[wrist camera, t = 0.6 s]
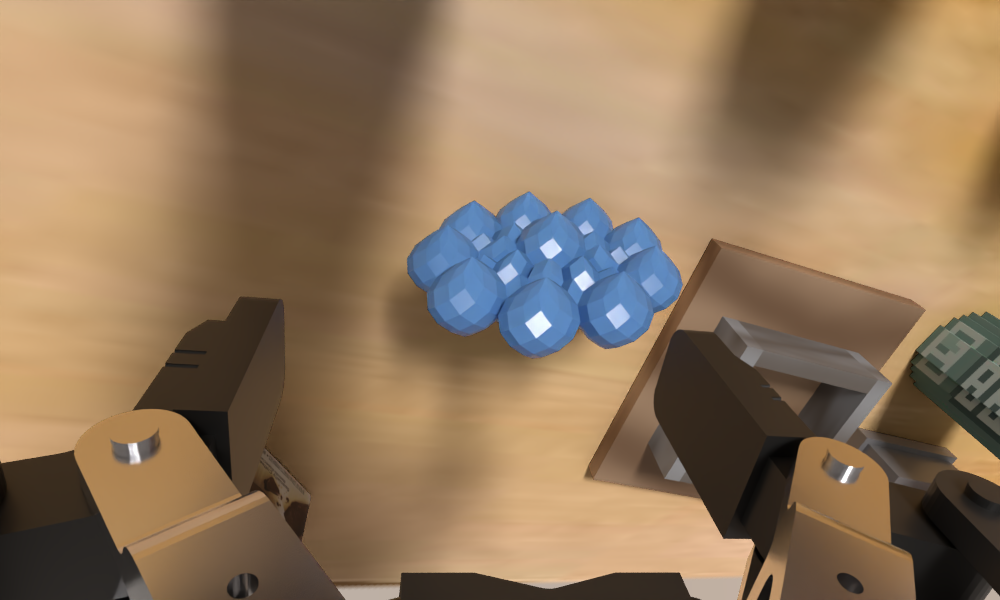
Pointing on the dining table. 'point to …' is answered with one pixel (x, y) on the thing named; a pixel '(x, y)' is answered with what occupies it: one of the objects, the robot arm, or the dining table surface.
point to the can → (964, 375)
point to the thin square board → (765, 354)
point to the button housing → (903, 457)
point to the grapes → (544, 275)
